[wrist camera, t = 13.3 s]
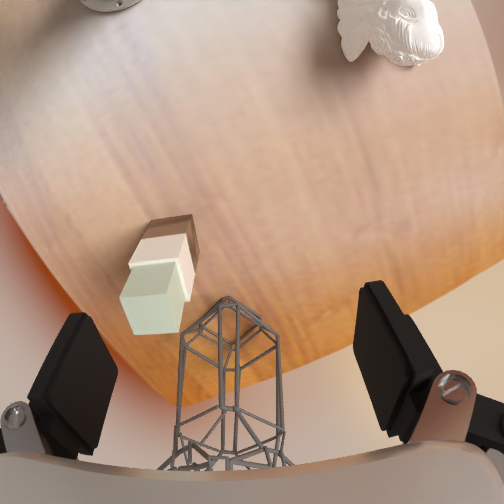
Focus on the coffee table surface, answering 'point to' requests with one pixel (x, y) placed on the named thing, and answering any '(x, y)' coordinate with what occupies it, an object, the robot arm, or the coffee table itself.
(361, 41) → the cherub figurine
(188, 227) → the walnut block
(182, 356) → the geometric lantern
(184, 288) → the cream block
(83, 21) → the coffee table surface
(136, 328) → the sage block
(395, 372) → the robot arm
